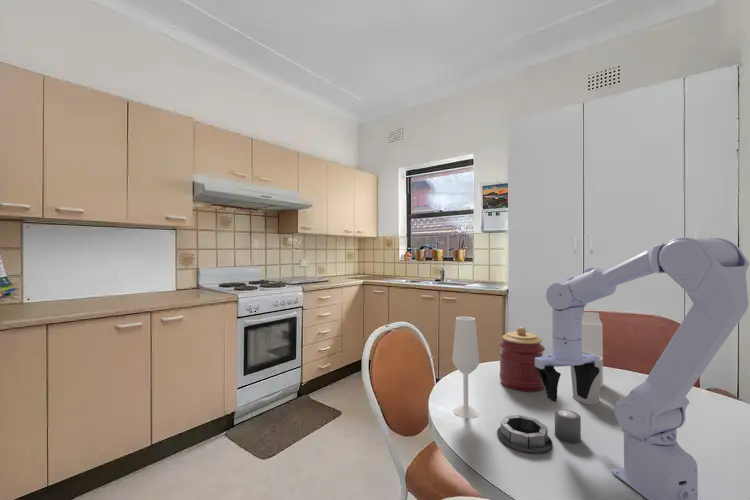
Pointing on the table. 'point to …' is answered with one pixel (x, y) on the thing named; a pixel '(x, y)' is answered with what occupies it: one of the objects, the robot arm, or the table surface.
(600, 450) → the table surface
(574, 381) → the cup
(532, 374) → the canister
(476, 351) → the champagne flute
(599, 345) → the milk
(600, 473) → the table surface
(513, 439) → the socket
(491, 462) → the table surface
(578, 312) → the robot arm
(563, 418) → the cap
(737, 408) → the table surface
